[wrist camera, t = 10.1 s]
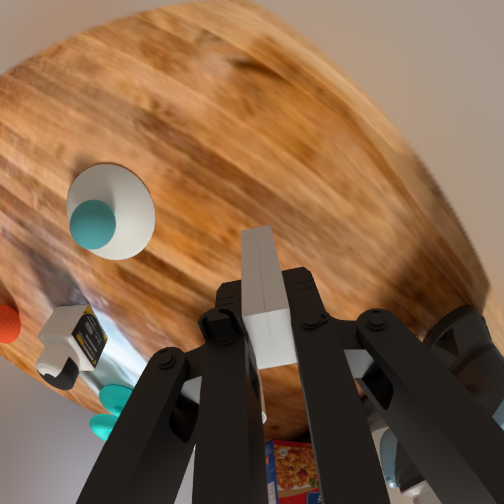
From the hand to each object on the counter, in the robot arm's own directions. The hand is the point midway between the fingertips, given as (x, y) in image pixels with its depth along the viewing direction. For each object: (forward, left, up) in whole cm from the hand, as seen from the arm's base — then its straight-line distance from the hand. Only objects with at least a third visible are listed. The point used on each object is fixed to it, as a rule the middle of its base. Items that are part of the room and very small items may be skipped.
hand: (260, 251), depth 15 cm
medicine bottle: (+30, +15, -17) cm, 37 cm away
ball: (+18, 0, -14) cm, 22 cm away
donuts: (+33, +35, -17) cm, 51 cm away
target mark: (+17, 0, -16) cm, 24 cm away
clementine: (+47, +11, -17) cm, 51 cm away
